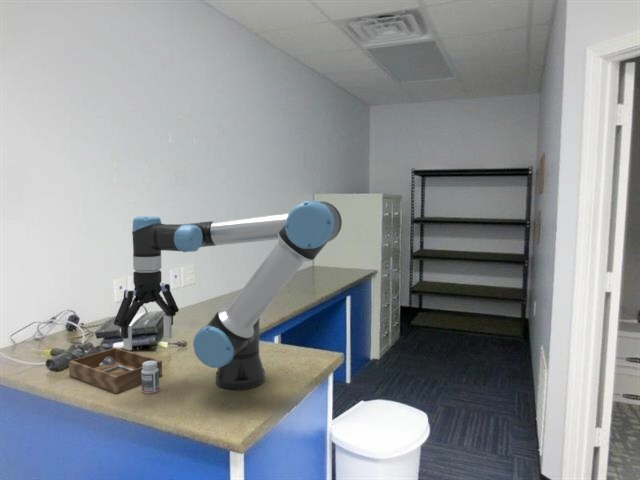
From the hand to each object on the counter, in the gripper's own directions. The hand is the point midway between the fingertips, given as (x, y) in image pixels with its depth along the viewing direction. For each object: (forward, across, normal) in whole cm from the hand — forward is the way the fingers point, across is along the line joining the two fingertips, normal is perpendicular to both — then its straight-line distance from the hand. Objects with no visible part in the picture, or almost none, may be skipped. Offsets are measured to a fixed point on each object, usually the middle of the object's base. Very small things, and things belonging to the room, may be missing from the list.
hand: (148, 342), depth 130 cm
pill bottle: (+14, 0, 0) cm, 15 cm away
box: (+14, -1, -18) cm, 23 cm away
